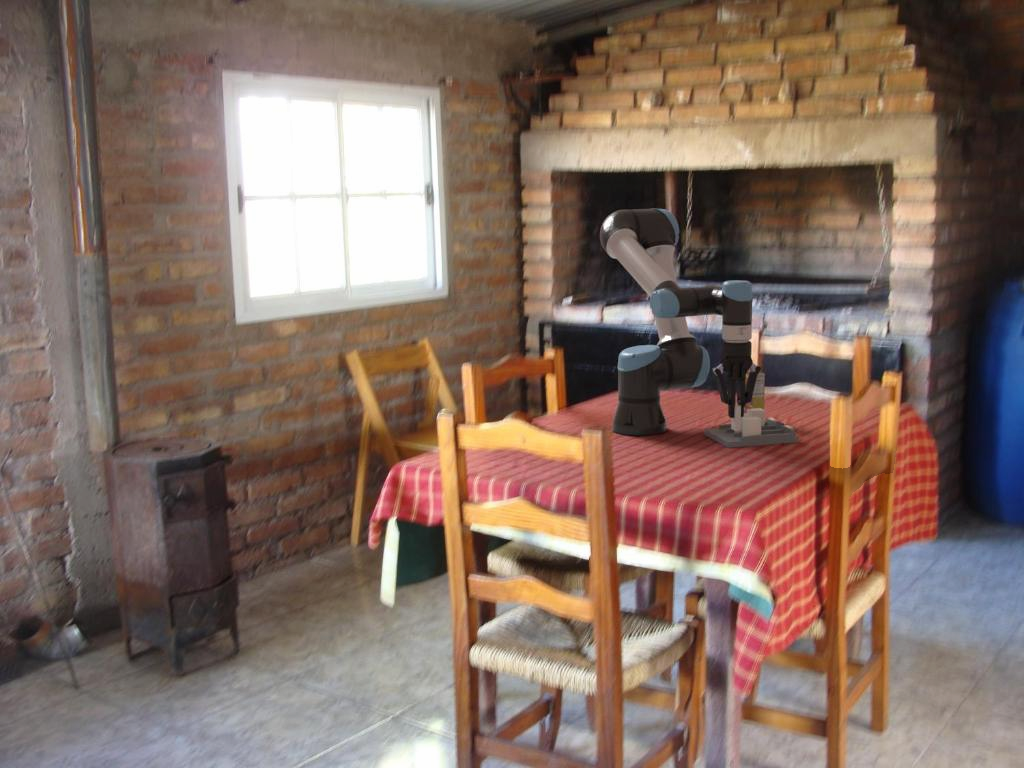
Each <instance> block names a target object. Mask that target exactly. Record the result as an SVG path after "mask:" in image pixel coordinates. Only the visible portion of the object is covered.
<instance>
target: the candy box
mask: <svg viewBox="0 0 1024 768" xmlns="http://www.w3.org/2000/svg"><path fill="white" fill-rule="evenodd" d="M749 373H750V369H749V370H748V372H747V373H746V379H745V389H746V385H747V381H748V377H749ZM765 375H766V374H765V372H761V371H760V372H759V373H758V375H757V379H756V383H755V387H754V391H753V396H752V400H751V402H750V403H746V405H745V406H744V413H747V409H755V408H761V409H763V410H765V393H766V392H765V386H766V385H765V384H766V383H765V378H766V377H765ZM736 404H737V405H738V403H737V402H736Z"/></svg>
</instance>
